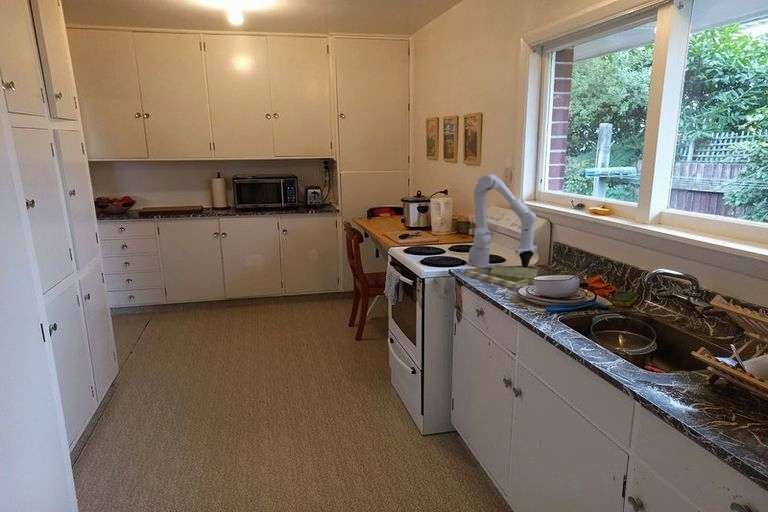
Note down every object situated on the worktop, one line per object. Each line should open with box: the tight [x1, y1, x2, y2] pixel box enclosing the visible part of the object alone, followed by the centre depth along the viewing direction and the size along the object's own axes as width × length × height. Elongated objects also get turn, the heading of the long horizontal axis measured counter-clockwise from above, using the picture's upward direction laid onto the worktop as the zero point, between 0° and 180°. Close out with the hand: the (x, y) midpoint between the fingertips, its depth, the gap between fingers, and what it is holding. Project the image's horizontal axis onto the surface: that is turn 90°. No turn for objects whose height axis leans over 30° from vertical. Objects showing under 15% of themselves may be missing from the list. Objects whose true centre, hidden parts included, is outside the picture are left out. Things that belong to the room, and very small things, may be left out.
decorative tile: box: [488, 264, 538, 285], centre depth 211 cm, size 19×20×4 cm
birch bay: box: [463, 266, 530, 290], centre depth 207 cm, size 27×10×2 cm, turn 40°
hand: (524, 267), depth 220 cm, fingers closed
